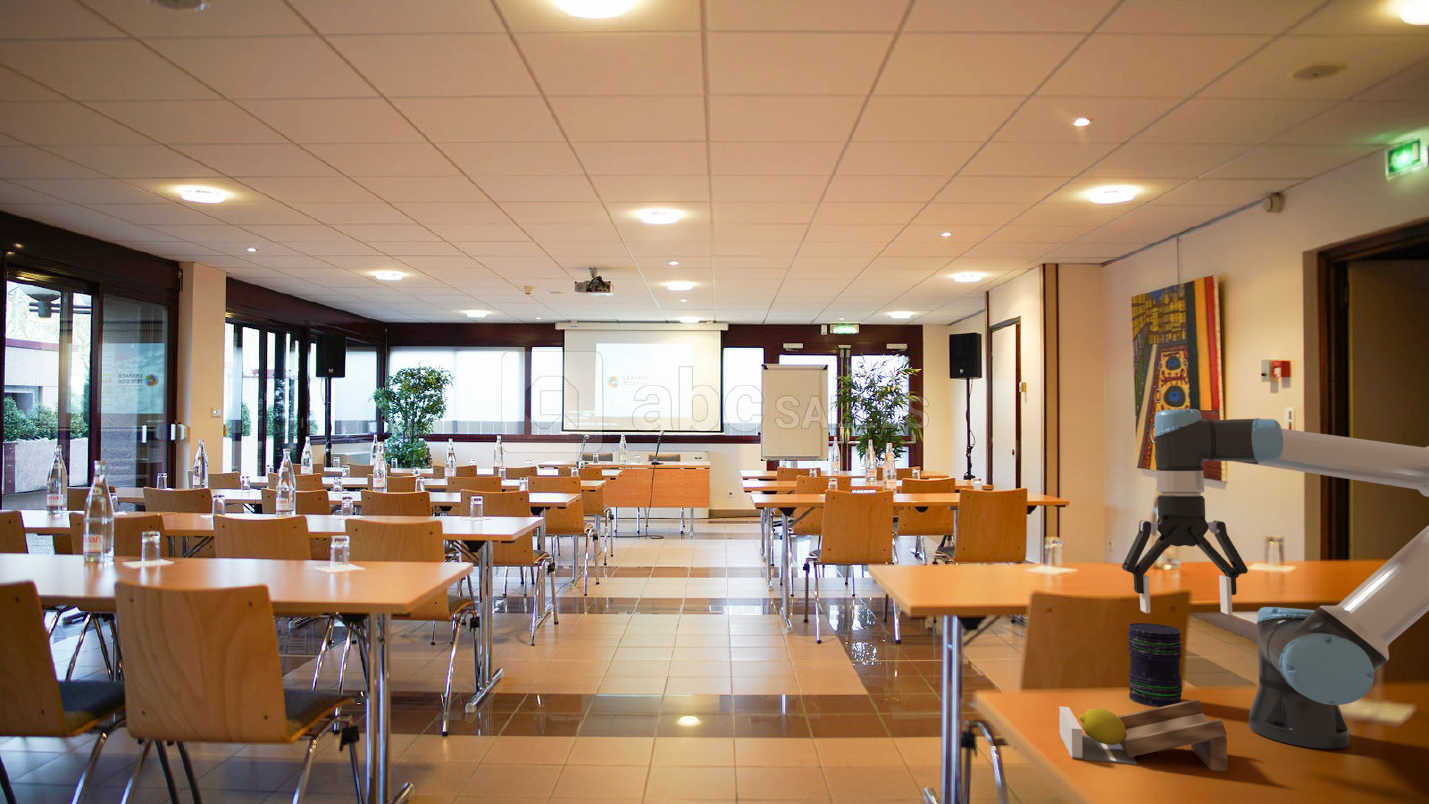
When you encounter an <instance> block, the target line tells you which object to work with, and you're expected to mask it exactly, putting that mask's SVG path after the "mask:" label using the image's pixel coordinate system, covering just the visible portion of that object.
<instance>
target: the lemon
mask: <svg viewBox="0 0 1429 804" xmlns="http://www.w3.org/2000/svg"><path fill="white" fill-rule="evenodd" d="M1079 720H1080V722H1081V725H1082V726H1081V727H1082V730H1083V731H1084V733H1085V735H1088V736H1089V737H1090V738H1092V739H1093V740H1095V741H1097V742H1100V743H1103V744H1107V745H1116V744H1119V743H1120V742H1122V741H1123V740H1124V738H1126V737H1127V733H1126V728H1125V725H1124V723H1123V722H1122V720H1121V719H1120V718H1119V717H1118V715H1116V714H1115V713H1113V712H1111V711H1109V710H1107V709H1104V708H1099V707H1098V708H1097V707H1095V708H1090V709H1088V710H1087V711H1085V713H1083V714H1080V715H1079Z"/></svg>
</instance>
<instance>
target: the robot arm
mask: <svg viewBox="0 0 1429 804" xmlns="http://www.w3.org/2000/svg"><path fill="white" fill-rule="evenodd" d="M1153 438H1154V454H1155V456H1154V457H1155V469H1156V470H1155V473H1156V474H1155V475H1156V476H1155V477H1156V491H1157V492H1158V493H1160V495H1159V494H1158V496H1157V497H1156V499H1157V500H1156V502H1157V520H1156V522H1154V521H1153V522H1152V521H1149V520H1143V519H1142V520H1140V521H1139V523H1138V532H1137V535H1136V536H1135V538H1134V540H1133V543H1132V545H1131V547H1130V549H1129V551H1128V553H1127V556H1126V558H1125V559H1124V560H1123V563H1122V565H1121V568H1122V570H1123V571H1125V572H1128V573H1131V574H1132V575H1133V589H1134V592H1135V593H1136V594H1139V606H1140V607H1139V608H1140V611H1141V612H1143V613H1145V614H1151V597H1150V594H1151V593H1150V576H1148V575H1145V574H1146V573H1147V572H1148V571H1149V570H1150V568H1151V567H1152V566H1153V565H1154V563H1155V562H1156V561H1157V560H1158V559H1159V558H1160V557H1161V555H1162V554H1163V553H1164V552H1165V551H1166V550H1167V549H1169V547H1171V546H1173V547H1183V546H1188V547H1195V546H1196V547H1198V548H1199V549H1200V550H1201V551H1202V552H1203V553H1204V555H1206V556H1207V557H1208V558H1209V559H1210V560H1211V562H1212V563H1214V564H1215V566H1216V567H1217V568H1218V569H1219V570H1220V571H1221V572H1222V573H1223V574H1224V575H1222V574H1220V575H1218V578H1219V581H1218V582H1219V583H1218V584H1219V599H1220V613H1223V614H1225V615H1227V616H1232V615H1233V601H1232V600H1233V596H1236V595H1237V592H1238V591H1237V578H1239V577H1240V575H1242V574H1243V575H1245V574H1248V572H1249V570H1248V567H1247V565H1245V564H1246V563H1245V562H1244V560H1243V559H1242V557H1241V555H1240V554H1239V552H1238V550H1237V548H1236V547H1235V545H1234V544H1233V542H1232V540H1231V538H1230V536H1229V535H1228V531H1227V526H1226V525H1227V524H1226V523H1225V522H1224V521H1221V520H1215V519H1214V520H1213V521H1211V522H1207V519H1206V500H1205V497H1204V496H1203V495H1202V494H1201V493H1204V492H1205V477H1204V462H1234V463H1241V464H1246V465H1255V466H1257V465H1258V466H1264V467H1270V468H1276V469H1283V470H1289V471H1296V472H1302V473H1307V474H1316V475H1322V476H1329V477H1333V478H1334V477H1335V478H1341V479H1348V480H1355V481H1359V482H1360V481H1361V482H1368V483H1373V484H1381V485H1386V486H1387V485H1388V486H1391V487H1399V488H1407V489H1413V490H1418V491H1419V493H1420V494H1421V495H1422V496H1424V497H1428V498H1429V445H1428V446H1425V447H1423V446H1415V445H1407V444H1401V443H1399V444H1398V443H1392V442H1385V441H1377V440H1371V439H1370V440H1369V439H1362V438H1355V437H1348V436H1339V435H1332V434H1324V433H1318V432H1317V433H1316V432H1308V431H1302V430H1296V429H1287V428H1282V427H1281V424H1280V423H1279V421H1278V420H1276V419H1273V418H1259V417H1257V418H1256V417H1255V418H1237V419H1234V418H1233V419H1231V418H1230V419H1203V416H1202V415H1201V411H1200V410H1199V409H1196V408H1187V409H1186V408H1185V409H1184V408H1181V409H1177V408H1176V409H1175V408H1174V409H1163V410H1158V411H1157V412H1156V413H1155V415H1154V433H1153ZM1155 530H1156V531H1157V532H1159V534H1160V535H1159V537H1158V538H1157V539H1156V540H1155V542H1154V544H1153V545H1152V546H1151V548H1150V549H1149V550H1147V552H1146V553H1145V554H1144V555H1143V557H1142V558H1141V559H1140V557H1141V555H1142V553H1143V551H1144V549H1145V547H1146V545H1147V543H1148V541H1149V539H1150V537H1151V535H1152V534H1153V533H1154V531H1155ZM1208 530H1209V531H1210V533H1212V534H1214V536H1215V539H1216V541H1217V543H1218V544H1219V546H1220V547H1221V549H1222V551H1223V552H1224V555H1225V556H1226V557H1227V560H1228V561H1229V562H1228V561H1227V560H1226V559H1225V558H1224V557H1223V556H1222V555H1221V554H1220V553H1219V552H1218V551H1217V550H1216V549H1215V548H1214V547H1213V545H1212V544H1211V542H1210V541H1209V540H1208V539H1207V538H1206V537H1205V535H1206V533H1207V532H1208ZM1139 559H1140V560H1139ZM1427 612H1429V524H1428V525H1427V526H1426V527H1425V528H1424V529H1423V530H1421V531H1420V532H1419V533H1418V534H1417V535H1416V536H1414V537H1413V538H1412V539H1410V541H1409V542H1408V543H1406V544H1405V545H1404V546H1403V547H1402V548H1401V549H1400V550H1399V551H1397V552H1396V553H1395V554H1394V555H1393V556H1392V557H1391V558H1389V559H1388V560H1387V561H1386V562H1385V563H1384V564H1383V565H1382V566H1380V567H1379V568H1378V569H1377V570H1376V571H1375V572H1373V573H1372V574H1371V575H1370V576H1369V577H1368V578H1367V579H1365V580H1364V581H1363V582H1362V583H1361V584H1360V585H1359V586H1357V587H1356V588H1355V589H1354V590H1353V591H1352V592H1351V593H1350V594H1348V596H1346V597H1345V598H1344V599H1342V600H1341V602H1339V603H1338V604H1336V605H1320V606H1319V607H1318V608H1317V609H1315V610H1313V609H1302V608H1290V607H1277V606H1276V607H1275V606H1264V607H1261V608H1260V609H1259V610H1258V612H1257V620H1256V626H1257V651H1258V653H1257V655H1258V657H1257V658H1258V688H1257V690H1256V693H1255V696H1254V699H1253V700H1252V701H1253V702H1252V705H1251V707H1250V709H1249V712H1248V728H1250V730H1251V731H1253V732H1255V733H1256V734H1258V735H1260V736H1262V737H1265V738H1267V739H1271V740H1274V741H1276V742H1281V743H1283V744H1289V745H1293V746H1298V747H1303V748H1311V749H1312V748H1313V749H1326V750H1329V749H1330V750H1332V749H1333V750H1334V749H1335V750H1336V749H1343V748H1347V747H1348V746H1350V731H1349V727H1348V725H1347V722H1346V720H1345V717H1344V714H1343V713H1342V709H1341V708H1340V706H1343V705H1348V704H1352V703H1355V702H1357V701H1358V700H1360V699H1362V698H1363V697H1364V696H1365V695H1367V693H1368V692H1370V689H1371V688H1372V686H1373V683H1374V676H1375V672H1376V671H1377V670H1378V669H1380V667H1382V666H1383V665H1384V664H1385V663H1386V662H1388V661H1389V659H1390V653H1389V645H1390V644H1391V643H1392V642H1394V640H1395V639H1397V638H1398V637H1399V636H1401V635H1402V634H1403V633H1404V632H1405V631H1406V630H1408V629H1409V628H1410V627H1411V626H1412V625H1413V624H1415V623H1416V622H1417V621H1418V620H1419V619H1421V618H1422V617H1423V616H1424V615H1425V614H1426V613H1427Z"/></svg>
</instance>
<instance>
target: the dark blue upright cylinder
mask: <svg viewBox="0 0 1429 804" xmlns="http://www.w3.org/2000/svg"><path fill="white" fill-rule="evenodd" d="M1127 628H1128V637H1127V644H1128V648H1127V649H1128V653H1129V670H1128V689H1129V694H1128V695H1129V699H1130V700H1131V701H1133V702H1135V703H1137V704H1140V705H1143V706H1148V707H1151V708H1152V707H1153V708H1159V707H1163V706H1168V705H1172V704H1177V703H1181V702H1183V701H1182V700H1181V699H1182V697H1183V695H1182V693H1183V685H1182V677H1181V667H1180V666H1181V661H1180V660H1181V658H1182V642H1181V637H1180V636H1181V629H1179V628H1177V627H1174V626H1170V625H1166V624H1165V625H1164V624H1159V623H1149V622H1148V623H1147V622H1146V623H1145V622H1135V623H1134V622H1133V623H1129V624H1128V627H1127Z"/></svg>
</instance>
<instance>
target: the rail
mask: <svg viewBox="0 0 1429 804" xmlns="http://www.w3.org/2000/svg"><path fill="white" fill-rule="evenodd" d="M1082 735H1083V727H1082V726H1081V725H1080V724H1079V721H1078V720H1077V718H1076V717H1075V715H1074V713H1073V711H1072V710H1071V709H1070V707H1069V706H1061V705H1059V736H1060V737H1061V736H1062V737H1061V740H1062V741H1063V743H1064V745H1065V748H1066V749H1067V751H1068V753H1069V756H1070V757H1071V759H1072V758H1074V757H1075V758H1076V757H1078V758H1079V759H1077V758H1076V759H1075V760H1082V759H1081V758H1082ZM1082 761H1083V760H1082Z"/></svg>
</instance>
